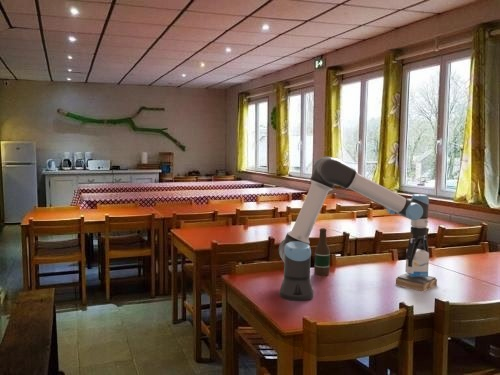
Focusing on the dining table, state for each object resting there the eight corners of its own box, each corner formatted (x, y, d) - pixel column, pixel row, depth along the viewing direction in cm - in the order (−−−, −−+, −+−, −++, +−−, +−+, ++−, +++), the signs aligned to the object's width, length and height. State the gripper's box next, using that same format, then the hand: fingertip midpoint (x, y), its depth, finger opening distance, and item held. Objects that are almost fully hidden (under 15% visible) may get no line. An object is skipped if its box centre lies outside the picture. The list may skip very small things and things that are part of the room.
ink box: (428, 277, 222) (429, 252, 221) (410, 276, 222) (411, 252, 221) (422, 272, 231) (423, 248, 230) (405, 271, 231) (406, 248, 230)
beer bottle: (328, 272, 247) (330, 227, 245) (329, 276, 240) (331, 230, 237) (313, 271, 248) (315, 227, 246) (314, 275, 240) (315, 229, 238)
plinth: (422, 291, 217) (423, 283, 217) (395, 284, 227) (395, 276, 227) (436, 285, 227) (437, 277, 226) (409, 279, 237) (410, 271, 237)
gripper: (414, 230, 213) (411, 277, 215) (437, 224, 230) (435, 268, 232) (399, 228, 219) (396, 273, 221) (423, 222, 235) (421, 265, 237)
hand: (416, 270), depth 226 cm, fingers closed on ink box, 11 cm apart
